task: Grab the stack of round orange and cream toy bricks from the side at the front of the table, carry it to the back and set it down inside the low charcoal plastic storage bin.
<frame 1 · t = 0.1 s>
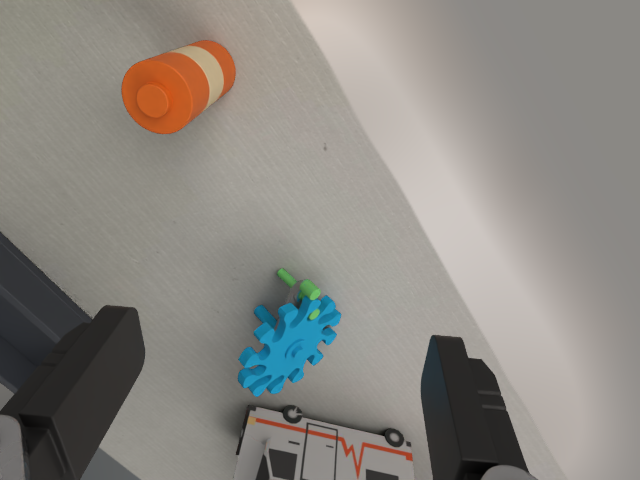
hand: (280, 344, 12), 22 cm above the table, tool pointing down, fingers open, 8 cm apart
bin: (22, 304, 42), on the table
gear: (298, 310, 40), on the table
toy vehicle: (322, 436, 48), on the table
brick tower: (209, 69, 30), on the table
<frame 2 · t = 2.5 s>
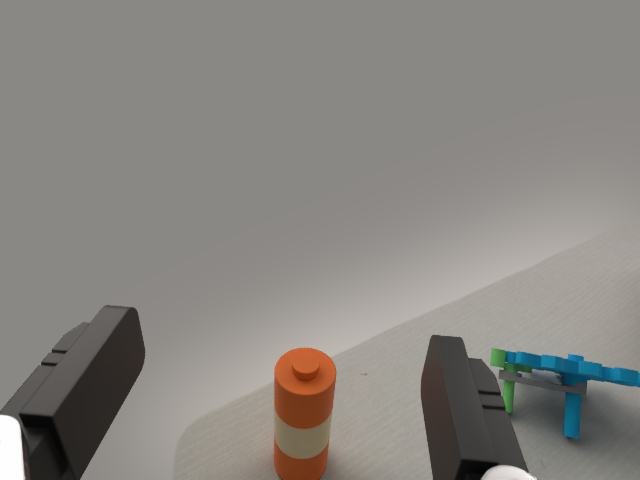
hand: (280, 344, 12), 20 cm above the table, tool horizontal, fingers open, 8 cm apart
gear: (550, 402, 36), on the table
brick tower: (300, 460, 31), on the table
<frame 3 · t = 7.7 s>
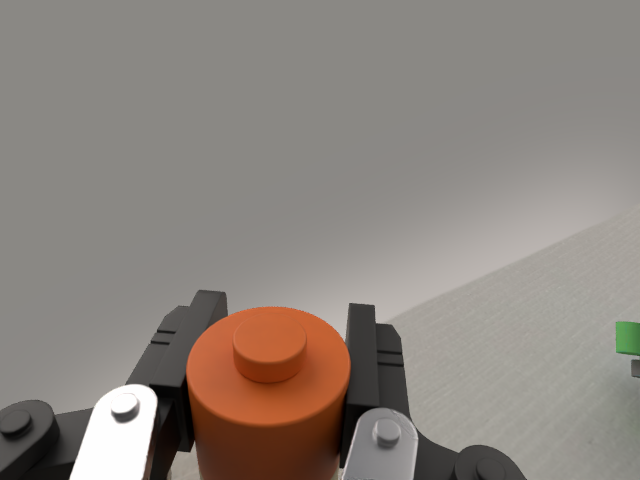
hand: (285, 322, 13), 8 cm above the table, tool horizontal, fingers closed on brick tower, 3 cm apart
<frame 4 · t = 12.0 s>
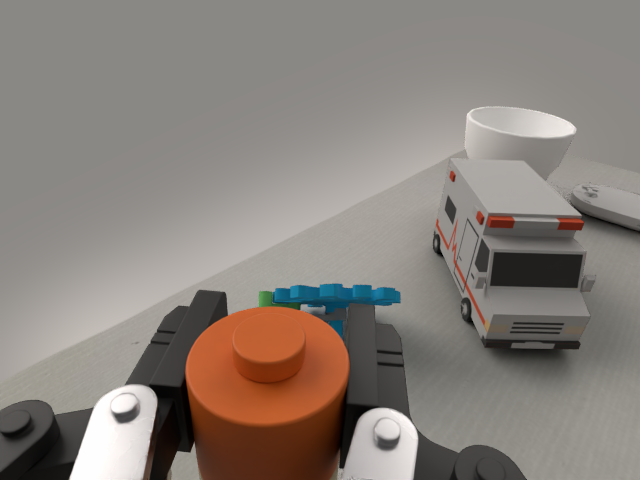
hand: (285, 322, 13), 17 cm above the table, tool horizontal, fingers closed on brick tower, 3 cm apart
cup: (496, 204, 59), on the table
gear: (326, 335, 37), on the table
toy vehicle: (490, 291, 43), on the table
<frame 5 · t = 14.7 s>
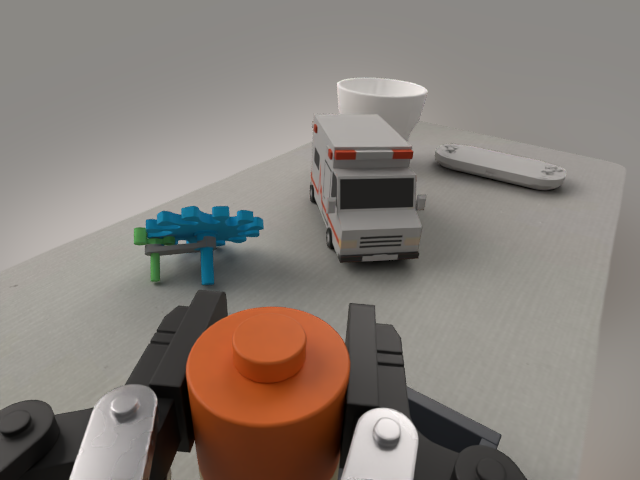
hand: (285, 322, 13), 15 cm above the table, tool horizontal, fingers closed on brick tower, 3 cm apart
cup: (372, 164, 66), on the table
gear: (203, 267, 41), on the table
toy vehicle: (355, 227, 49), on the table
game console: (494, 174, 66), on the table
when the fingers open (8 cm above the table, at t = 16.7 s): brick tower stays where it is, resting on bin.
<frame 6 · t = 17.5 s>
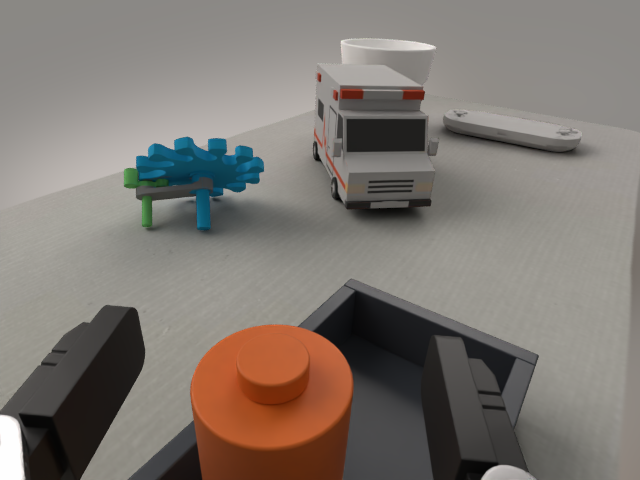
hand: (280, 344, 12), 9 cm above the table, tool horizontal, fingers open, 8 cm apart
cup: (378, 129, 64), on the table
gear: (199, 215, 38), on the table
toy vehicle: (362, 181, 46), on the table
game console: (505, 138, 63), on the table
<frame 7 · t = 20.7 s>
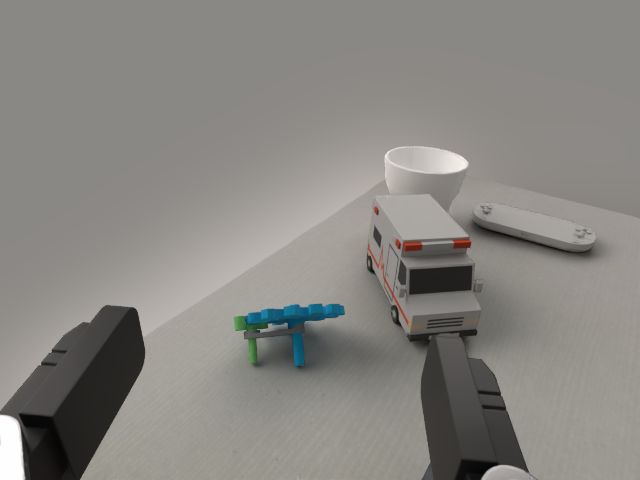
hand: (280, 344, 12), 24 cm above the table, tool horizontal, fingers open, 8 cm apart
cup: (415, 225, 72), on the table
gear: (289, 345, 47), on the table
toy vehicle: (413, 298, 55), on the table
game console: (527, 233, 71), on the table
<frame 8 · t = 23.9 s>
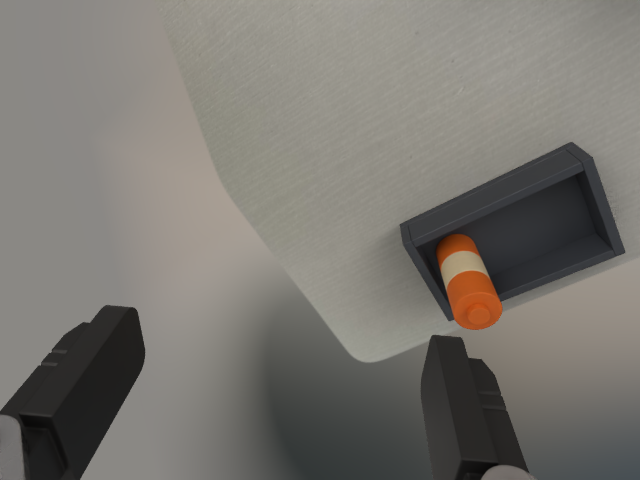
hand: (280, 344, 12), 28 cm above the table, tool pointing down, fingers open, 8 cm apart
bin: (500, 227, 41), on the table
brick tower: (455, 250, 41), point 1 cm above the table, touching bin
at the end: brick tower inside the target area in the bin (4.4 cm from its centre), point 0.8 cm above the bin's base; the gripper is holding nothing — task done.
